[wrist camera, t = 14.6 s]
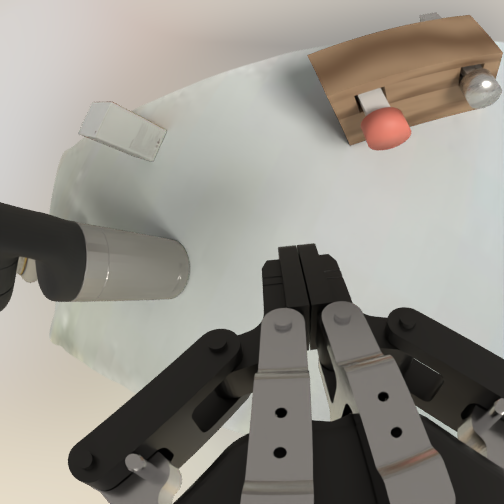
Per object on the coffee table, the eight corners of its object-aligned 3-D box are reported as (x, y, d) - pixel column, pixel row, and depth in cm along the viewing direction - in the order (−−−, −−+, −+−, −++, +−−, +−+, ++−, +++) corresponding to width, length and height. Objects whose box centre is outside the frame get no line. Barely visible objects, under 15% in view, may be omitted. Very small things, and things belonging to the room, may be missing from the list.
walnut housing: (486, 106, 24) (502, 52, 14) (350, 145, 33) (326, 96, 23) (463, 71, 25) (469, 14, 16) (334, 107, 34) (307, 55, 24)
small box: (168, 130, 48) (112, 100, 37) (153, 162, 49) (94, 138, 37) (143, 126, 52) (92, 101, 40) (130, 155, 52) (77, 134, 41)
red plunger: (411, 142, 24) (411, 120, 20) (371, 154, 26) (365, 134, 22) (366, 58, 26) (358, 33, 23) (332, 69, 28) (321, 46, 24)
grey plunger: (496, 104, 19) (505, 81, 15) (466, 111, 21) (472, 88, 17) (443, 30, 22) (442, 5, 18) (414, 35, 23) (411, 10, 20)
